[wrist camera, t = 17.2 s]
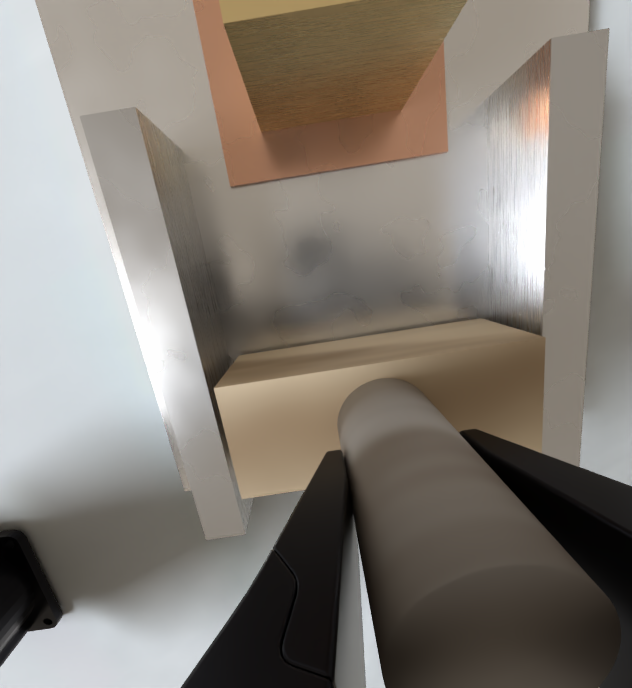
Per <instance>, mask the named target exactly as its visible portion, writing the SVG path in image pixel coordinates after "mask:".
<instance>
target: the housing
mask: <svg viewBox="0 0 632 688" xmlns="http://www.w3.org/2000/svg"><path fill="white" fill-rule="evenodd" d="M466 2H467V0H219V4H220V9H221V14H222V20H223V24H224V27H225V30H226V33H227V36H228V39H229V42H230V44H231V47H232V50H233V53H234V56H235V59H236V62H237V64H238V67H239V70H240V73H241V76H242V79H243V82H244V85H245V87H246V90H247V93H248V96H249V99H250V102H251V105H252V107H253V110H254V113H255V116H256V119H257V122H258V125H259V128H260V130H261V132H266V131H272V130H278V129H284V128H290V127H297V126H303V125H309V124H315V123H321V122H327V121H333V120H339V119H345V118H351V117H358V116H364V115H370V114H376V113H382V112H388V111H394V110H400V109H403V107H404V105H405V104H406V102H407V100H408V99H409V97H410V95H411V94H412V92H413V90H414V89H415V87H416V85H417V84H418V82H419V80H420V79H421V77H422V75H423V74H424V72H425V70H426V69H427V67H428V65H429V64H430V62H431V60H432V59H433V57H434V55H435V54H436V52H437V50H438V49H439V47H440V45H441V44H442V42H443V40H444V39H445V37H446V35H447V34H448V32H449V30H450V29H451V27H452V25H453V24H454V22H455V20H456V19H457V17H458V15H459V14H460V12H461V10H462V9H463V7H464V5H465V4H466Z"/></svg>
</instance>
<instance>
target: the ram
mask: <svg viewBox="0 0 632 688" xmlns="http://www.w3.org/2000/svg"><path fill="white" fill-rule="evenodd" d="M545 342H546V337H543V336H539V335H536V334H533V333H529V332H526V331H523V330H519V329H516V328H513V327H509V326H506V325H503V324H499V323H496V322H493V321H489V320H486V319H482V318H479V319H472V320H466V321H459V322H453V323H446V324H440V325H433V326H427V327H420V328H414V329H408V330H401V331H395V332H388V333H382V334H375V335H369V336H362V337H356V338H349V339H343V340H336V341H330V342H323V343H317V344H310V345H304V346H297V347H291V348H285V349H278V350H272V351H265V352H259V353H252V354H246V355H239V356H238V357H237V359H236V360H235V361H234V363H233V364H232V365H231V366H230V368H229V369H228V370H227V372H226V373H225V374H224V376H223V377H222V378H221V379H220V381H219V382H218V383H217V385H216V386H215V387H214V392H215V396H216V400H217V403H218V407H219V411H220V415H221V419H222V423H223V427H224V431H225V435H226V439H227V443H228V447H229V451H230V455H231V459H232V463H233V467H234V471H235V475H236V479H237V483H238V487H239V491H240V495H241V499H247V498H253V497H260V496H267V495H274V494H280V493H287V492H294V491H300V490H305V489H306V488H307V486H308V484H309V482H310V480H311V479H312V477H313V475H314V473H315V471H316V470H317V468H318V466H319V464H320V462H321V461H322V459H323V457H324V455H325V454H326V452H327V451H333V450H342V452H343V456H344V461H345V466H346V472H347V477H348V484H349V490H350V497H351V504H352V511H353V516H354V522H355V527H356V533H357V538H358V544H359V549H360V555H361V560H362V566H363V571H364V577H365V582H366V588H367V593H368V599H369V604H370V610H371V615H372V621H373V626H374V632H375V637H376V643H377V648H378V653H379V659H380V664H381V670H382V675H383V680H384V684H385V687H386V688H598V687H599V686H600V685H601V684H602V682H603V681H604V680H605V678H606V677H607V676H608V674H609V672H610V671H611V669H612V667H613V665H614V663H615V661H616V658H617V656H618V653H619V648H620V644H621V626H620V620H619V617H618V614H617V611H616V609H615V607H614V606H613V604H612V602H611V601H610V599H609V598H608V597H607V596H606V594H605V593H604V592H603V591H602V590H601V589H600V588H599V587H598V586H597V584H596V583H595V582H594V581H593V580H592V579H591V578H590V577H589V576H588V575H587V573H586V572H585V571H584V570H583V569H582V568H581V567H580V566H579V565H578V564H577V562H576V561H575V560H574V559H573V558H572V557H571V556H570V555H569V554H568V552H567V551H566V550H565V549H564V548H563V547H562V546H561V545H560V544H559V543H558V541H557V540H556V539H555V538H554V537H553V536H552V535H551V534H550V533H549V532H548V530H547V529H546V528H545V527H544V526H543V525H542V524H541V523H540V522H539V521H538V519H537V518H536V517H535V516H534V515H533V514H532V513H531V512H530V511H529V509H528V508H527V507H526V506H525V505H524V504H523V503H522V502H521V501H520V500H519V498H518V497H517V496H516V495H515V494H514V493H513V492H512V491H511V490H510V489H509V487H508V486H507V485H506V484H505V483H504V482H503V481H502V480H501V479H500V478H499V476H498V475H497V474H496V473H495V472H494V471H493V470H492V469H491V468H490V467H489V465H488V464H487V463H486V462H485V461H484V460H483V459H482V458H481V457H480V455H479V454H478V453H477V452H476V451H475V450H474V449H473V448H472V447H471V446H470V444H469V443H468V442H467V441H466V440H465V439H464V438H463V437H462V436H461V435H460V433H459V432H460V431H462V430H468V429H478V430H481V431H483V432H486V433H489V434H491V435H494V436H497V437H499V438H502V439H505V440H508V441H510V442H513V443H516V444H518V445H521V446H524V447H526V448H529V449H532V450H535V451H537V452H540V453H542V431H543V401H544V372H545Z"/></svg>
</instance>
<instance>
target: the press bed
mask: <svg viewBox="0 0 632 688" xmlns="http://www.w3.org/2000/svg"><path fill="white" fill-rule="evenodd" d="M35 2H36V5H37V8H38V11H39V15H40V18H41V21H42V25H43V28H44V31H45V34H46V38H47V41H48V44H49V48H50V51H51V54H52V57H53V61H54V64H55V67H56V71H57V74H58V77H59V80H60V84H61V87H62V90H63V94H64V97H65V100H66V103H67V107H68V110H69V113H70V117H71V120H72V123H73V126H74V130H75V133H76V136H77V139H78V143H79V146H80V149H81V153H82V156H83V159H84V162H85V166H86V169H87V172H88V176H89V179H90V182H91V185H92V189H93V192H94V195H95V199H96V202H97V205H98V208H99V212H100V215H101V218H102V222H103V225H104V228H105V231H106V235H107V238H108V241H109V245H110V248H111V251H112V254H113V258H114V261H115V264H116V268H117V271H118V274H119V277H120V281H121V284H122V287H123V290H124V294H125V297H126V300H127V304H128V307H129V310H130V313H131V317H132V320H133V323H134V327H135V330H136V333H137V336H138V340H139V343H140V346H141V350H142V353H143V356H144V359H145V363H146V366H147V369H148V373H149V376H150V379H151V382H152V386H153V389H154V392H155V396H156V399H157V402H158V405H159V409H160V412H161V415H162V419H163V422H164V425H165V428H166V432H167V435H168V438H169V441H170V445H171V448H172V451H173V455H174V458H175V461H176V464H177V468H178V471H179V474H180V478H181V481H182V484H183V487H184V491H192V495H193V498H194V502H195V505H196V508H197V512H198V515H199V518H200V522H201V525H202V528H203V532H204V535H205V538H206V540H211V539H218V538H225V537H231V536H238V535H245V534H246V529H247V525H248V521H249V517H250V512H251V508H252V504H253V499H254V497H253V498H247V499H241V495H240V491H239V487H238V483H237V479H236V475H235V471H234V467H233V463H232V459H231V455H230V451H229V447H228V443H227V439H226V435H225V431H224V427H223V423H222V419H221V415H220V411H219V407H218V403H217V400H216V396H215V392H214V387H215V386H216V385H217V383H218V382H219V381H220V379H221V378H222V377H223V376H224V374H225V373H226V372H227V370H228V369H229V368H230V366H231V365H232V364H233V363H234V361H235V360H236V359H237V357H238V356H239V355H246V354H252V353H259V352H265V351H272V350H278V349H285V348H291V347H297V346H304V345H310V344H317V343H323V342H330V341H336V340H343V339H349V338H356V337H362V336H369V335H375V334H382V333H388V332H395V331H401V330H408V329H414V328H420V327H427V326H433V325H440V324H446V323H453V322H459V321H466V320H472V319H479V318H482V319H486V320H489V321H493V322H496V323H499V324H503V325H506V326H509V327H513V328H516V329H519V330H523V331H526V332H529V333H533V334H536V335H539V336H543V337H546V342H545V372H544V401H543V431H542V453H543V454H545V455H548V456H551V457H553V458H556V459H559V460H562V461H564V462H567V463H570V464H572V465H575V466H578V467H579V463H580V448H581V434H582V419H583V405H584V390H585V376H586V361H587V347H588V332H589V317H590V303H591V288H592V274H593V259H594V245H595V230H596V216H597V201H598V187H599V172H600V158H601V143H602V128H603V114H604V99H605V85H606V70H607V56H608V41H609V28H608V29H602V30H596V31H590V32H588V24H589V6H590V0H467V2H466V4H465V5H464V7H463V9H462V10H461V12H460V14H459V15H458V17H457V19H456V20H455V22H454V24H453V25H452V27H451V29H450V30H449V32H448V34H447V35H446V37H445V39H444V40H443V42H442V44H441V45H440V47H439V49H438V50H437V52H436V54H435V55H434V57H433V59H432V60H431V62H430V64H429V65H428V67H427V69H426V70H425V72H424V74H423V75H422V77H421V79H420V80H419V82H418V84H417V85H416V87H415V89H414V90H413V92H412V94H411V95H410V97H409V99H408V100H407V102H406V104H405V105H404V107H403V109H400V110H394V111H388V112H382V113H376V114H370V115H364V116H358V117H351V118H345V119H339V120H333V121H327V122H321V123H315V124H309V125H303V126H297V127H290V128H284V129H278V130H272V131H266V132H261V130H260V128H259V125H258V122H257V119H256V116H255V113H254V110H253V107H252V105H251V102H250V99H249V96H248V93H247V90H246V87H245V85H244V82H243V79H242V76H241V73H240V70H239V67H238V64H237V62H236V59H235V56H234V53H233V50H232V47H231V44H230V42H229V39H228V36H227V33H226V30H225V27H224V24H223V20H222V14H221V9H220V4H219V0H35Z"/></svg>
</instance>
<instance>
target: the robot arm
mask: <svg viewBox="0 0 632 688" xmlns="http://www.w3.org/2000/svg"><path fill="white" fill-rule="evenodd" d="M459 433H460V435H461V436H462V437H463V438H464V439H465V440H466V441H467V442H468V443H469V444H470V446H471V447H472V448H473V449H474V450H475V451H476V452H477V453H478V454H479V455H480V457H481V458H482V459H483V460H484V461H485V462H486V463H487V464H488V465H489V467H490V468H491V469H492V470H493V471H494V472H495V473H496V474H497V475H498V476H499V478H500V479H501V480H502V481H503V482H504V483H505V484H506V485H507V486H508V487H509V489H510V490H511V491H512V492H513V493H514V494H515V495H516V496H517V497H518V498H519V500H520V501H521V502H522V503H523V504H524V505H525V506H526V507H527V508H528V509H529V511H530V512H531V513H532V514H533V515H534V516H535V517H536V518H537V519H538V521H539V522H540V523H541V524H542V525H543V526H544V527H545V528H546V529H547V530H548V532H549V533H550V534H551V535H552V536H553V537H554V538H555V539H556V540H557V541H558V543H559V544H560V545H561V546H562V547H563V548H564V549H565V550H566V551H567V552H568V554H569V555H570V556H571V557H572V558H573V559H574V560H575V561H576V562H577V564H578V565H579V566H580V567H581V568H582V569H583V570H584V571H585V572H586V573H587V575H588V576H589V577H590V578H591V579H592V580H593V581H594V582H595V583H596V584H597V586H598V587H599V588H600V589H601V590H602V591H603V592H604V593H605V594H606V596H607V597H608V598H609V599H610V601H611V602H612V604H613V606H614V607H615V609H616V611H617V614H618V617H619V620H620V626H621V644H620V648H619V653H618V656H617V658H616V661H615V663H614V665H613V667H612V669H611V671H610V672H609V674H608V676H607V677H606V678H605V680H604V681H603V682H602V684H601V685H600V686H599V688H632V486H629V485H626V484H624V483H621V482H618V481H616V480H613V479H610V478H607V477H605V476H602V475H599V474H597V473H594V472H591V471H589V470H586V469H583V468H580V467H578V466H575V465H572V464H570V463H567V462H564V461H562V460H559V459H556V458H553V457H551V456H548V455H545V454H543V453H540V452H537V451H535V450H532V449H529V448H526V447H524V446H521V445H518V444H516V443H513V442H510V441H508V440H505V439H502V438H499V437H497V436H494V435H491V434H489V433H486V432H483V431H481V430H478V429H468V430H462V431H460V432H459ZM61 618H62V612H61V610H60V608H59V605H58V603H57V601H56V599H55V597H54V595H53V593H52V591H51V589H50V587H49V584H48V582H47V580H46V578H45V576H44V574H43V572H42V570H41V568H40V566H39V563H38V561H37V559H36V557H35V555H34V553H33V551H32V549H31V547H30V545H29V542H28V540H27V538H26V536H25V535H24V534H23V533H22V532H21V531H18V530H10V531H3V532H0V667H1V665H2V664H3V663H4V661H5V660H6V659H7V658H8V656H9V655H10V654H11V652H12V651H13V650H14V648H15V647H16V646H17V645H18V643H19V642H20V641H21V639H22V638H23V637H24V635H25V634H26V633H27V632H28V631H35V630H42V629H49V628H53V627H55V626H56V625H57V624H58V622H59V621H60V619H61ZM181 688H366V679H365V661H364V643H363V625H362V607H361V589H360V571H359V554H358V543H357V536H356V529H355V523H354V516H353V511H352V504H351V497H350V490H349V484H348V477H347V472H346V466H345V461H344V456H343V452H342V450H333V451H327V452H326V454H325V455H324V457H323V459H322V461H321V462H320V464H319V466H318V468H317V470H316V471H315V473H314V475H313V477H312V479H311V480H310V482H309V484H308V486H307V488H306V489H305V491H304V493H303V495H302V497H301V498H300V500H299V502H298V504H297V506H296V507H295V509H294V511H293V513H292V514H291V516H290V518H289V520H288V522H287V523H286V525H285V527H284V529H283V531H282V532H281V534H280V536H279V538H278V540H277V541H276V543H275V545H274V547H273V550H272V551H271V552H270V553H269V555H268V557H267V559H266V561H265V563H264V564H263V566H262V568H261V569H260V571H259V573H258V574H257V576H256V578H255V579H254V581H253V583H252V584H251V586H250V588H249V590H248V591H247V593H246V594H245V596H244V597H243V599H242V600H241V602H240V603H239V605H238V606H237V608H236V609H235V611H234V612H233V614H232V615H231V617H230V618H229V620H228V621H227V622H226V624H225V625H224V627H223V628H222V630H221V631H220V632H219V634H218V635H217V637H216V638H215V640H214V641H213V642H212V644H211V645H210V647H209V648H208V650H207V651H206V652H205V654H204V655H203V657H202V658H201V659H200V661H199V662H198V664H197V665H196V667H195V668H194V669H193V671H192V672H191V674H190V675H189V677H188V678H187V679H186V681H185V682H184V684H183V685H182V687H181Z"/></svg>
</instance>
